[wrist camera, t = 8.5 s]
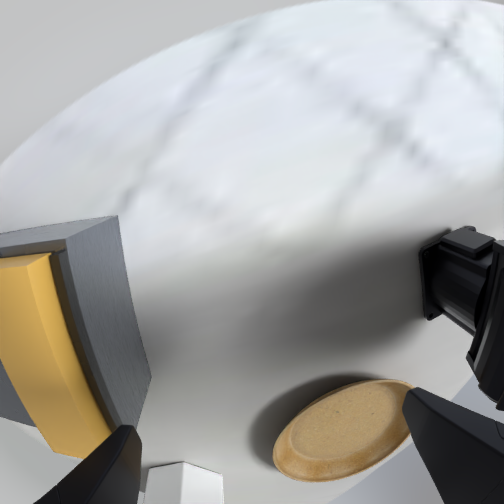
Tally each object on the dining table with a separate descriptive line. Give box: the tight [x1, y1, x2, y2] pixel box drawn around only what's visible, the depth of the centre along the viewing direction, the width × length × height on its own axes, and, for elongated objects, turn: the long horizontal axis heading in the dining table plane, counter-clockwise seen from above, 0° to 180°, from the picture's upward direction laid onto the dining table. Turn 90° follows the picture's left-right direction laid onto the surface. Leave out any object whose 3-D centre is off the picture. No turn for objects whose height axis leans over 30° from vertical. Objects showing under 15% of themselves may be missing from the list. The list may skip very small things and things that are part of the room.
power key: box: [0, 253, 112, 459], centre depth 11 cm, size 4×11×2 cm, turn 4°
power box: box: [0, 215, 151, 433], centre depth 15 cm, size 13×12×8 cm
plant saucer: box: [272, 379, 415, 482], centre depth 23 cm, size 15×15×3 cm
